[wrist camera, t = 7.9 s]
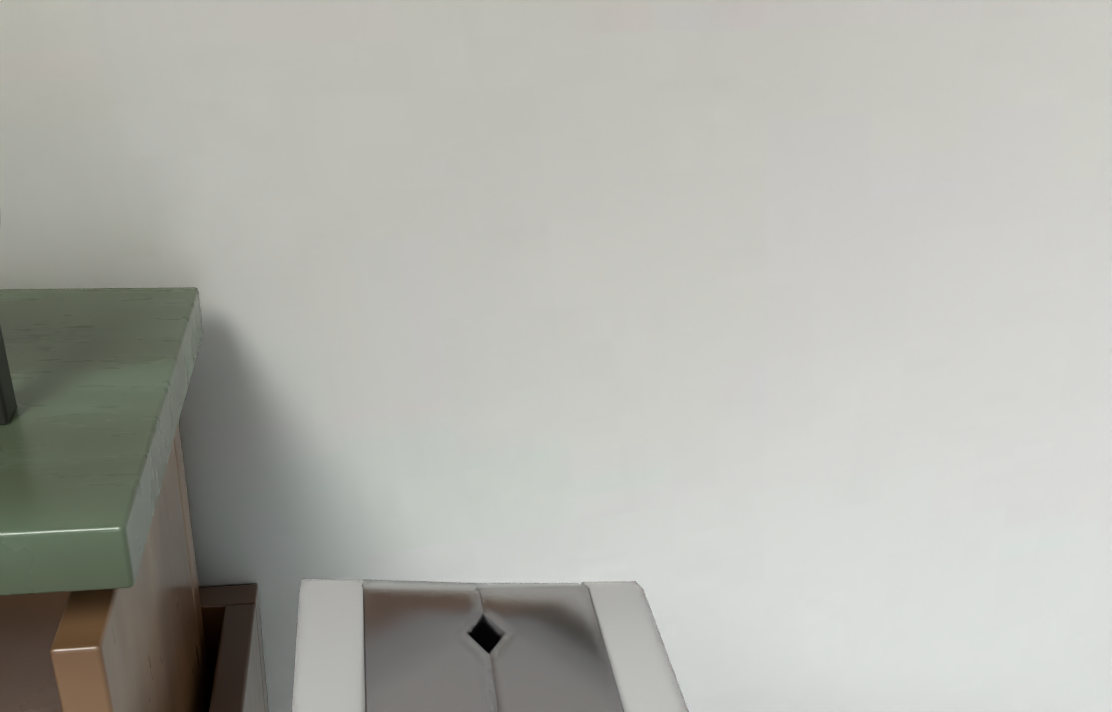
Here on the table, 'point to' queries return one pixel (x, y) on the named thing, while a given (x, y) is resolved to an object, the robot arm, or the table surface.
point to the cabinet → (234, 648)
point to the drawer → (97, 503)
